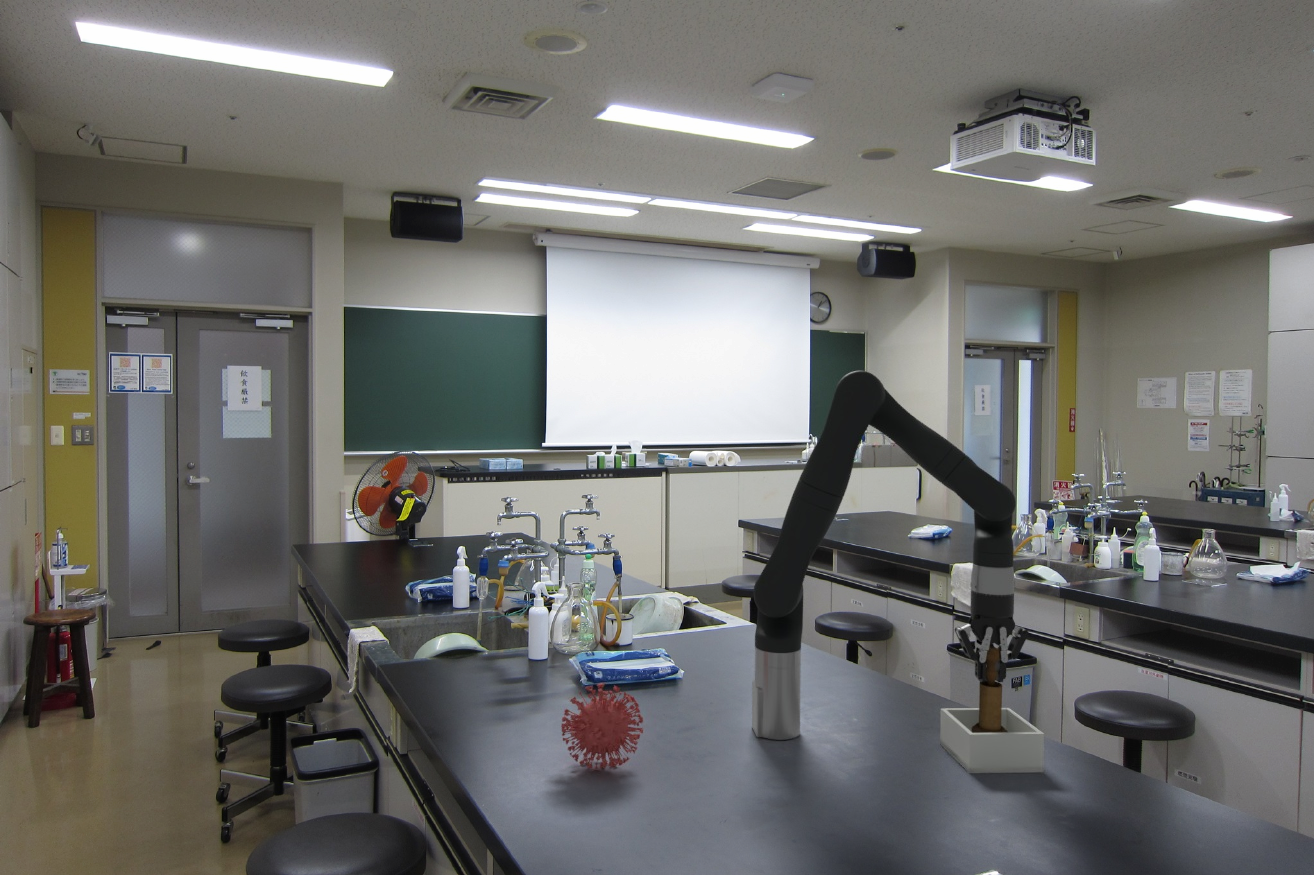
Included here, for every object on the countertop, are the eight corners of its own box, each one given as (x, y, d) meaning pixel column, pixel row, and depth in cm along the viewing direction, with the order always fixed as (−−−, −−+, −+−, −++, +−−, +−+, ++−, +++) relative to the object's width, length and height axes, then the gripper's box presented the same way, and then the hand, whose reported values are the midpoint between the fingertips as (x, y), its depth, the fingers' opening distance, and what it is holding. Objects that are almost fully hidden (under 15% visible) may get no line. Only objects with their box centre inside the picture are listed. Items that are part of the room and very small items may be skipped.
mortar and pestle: (1011, 750, 155) (1013, 652, 155) (974, 747, 157) (975, 650, 156) (1004, 737, 162) (1005, 643, 161) (968, 734, 163) (969, 641, 163)
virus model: (653, 757, 158) (654, 677, 158) (624, 790, 144) (625, 702, 144) (581, 746, 163) (581, 669, 163) (546, 777, 149) (546, 693, 149)
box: (969, 773, 152) (969, 734, 152) (940, 744, 166) (940, 708, 166) (1043, 772, 153) (1044, 733, 153) (1008, 743, 166) (1008, 708, 166)
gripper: (963, 593, 155) (961, 687, 155) (1038, 593, 155) (1036, 687, 156) (947, 585, 162) (945, 675, 162) (1019, 585, 163) (1017, 675, 163)
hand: (990, 680), depth 159 cm, fingers closed on mortar and pestle, 2 cm apart
